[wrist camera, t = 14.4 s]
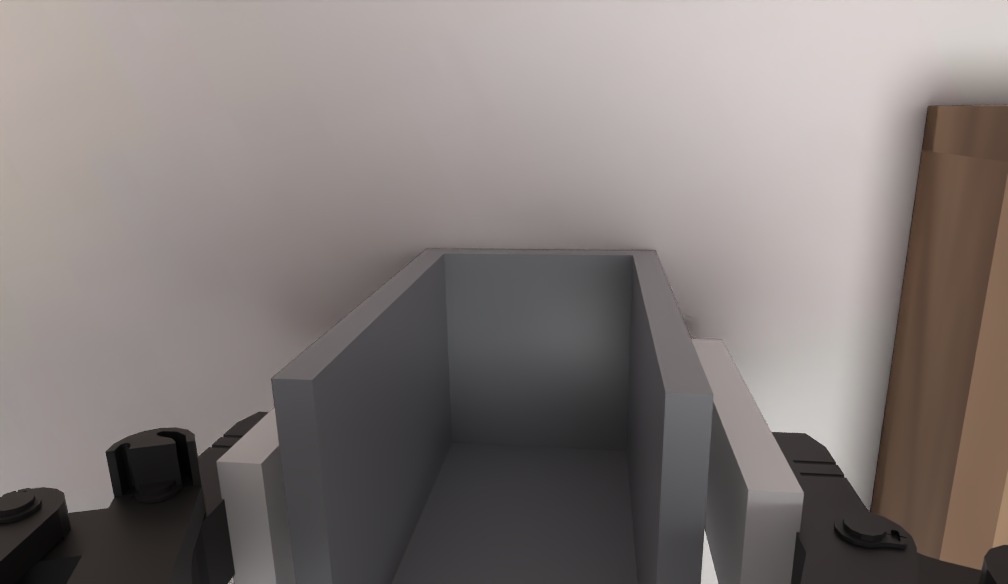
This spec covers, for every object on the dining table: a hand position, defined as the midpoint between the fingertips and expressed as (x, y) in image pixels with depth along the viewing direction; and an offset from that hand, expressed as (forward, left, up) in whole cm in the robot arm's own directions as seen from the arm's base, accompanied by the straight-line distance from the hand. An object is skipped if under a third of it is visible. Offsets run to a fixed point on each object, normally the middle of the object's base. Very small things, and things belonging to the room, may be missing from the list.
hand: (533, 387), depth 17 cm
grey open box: (0, 0, -2) cm, 2 cm away
